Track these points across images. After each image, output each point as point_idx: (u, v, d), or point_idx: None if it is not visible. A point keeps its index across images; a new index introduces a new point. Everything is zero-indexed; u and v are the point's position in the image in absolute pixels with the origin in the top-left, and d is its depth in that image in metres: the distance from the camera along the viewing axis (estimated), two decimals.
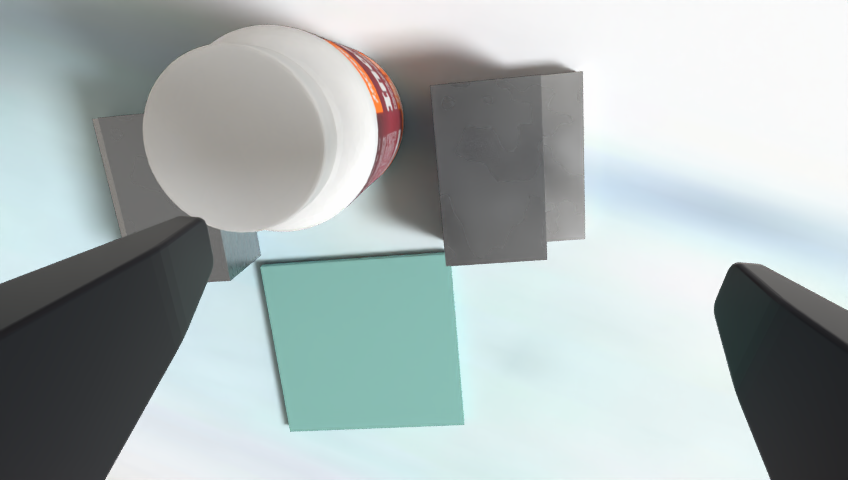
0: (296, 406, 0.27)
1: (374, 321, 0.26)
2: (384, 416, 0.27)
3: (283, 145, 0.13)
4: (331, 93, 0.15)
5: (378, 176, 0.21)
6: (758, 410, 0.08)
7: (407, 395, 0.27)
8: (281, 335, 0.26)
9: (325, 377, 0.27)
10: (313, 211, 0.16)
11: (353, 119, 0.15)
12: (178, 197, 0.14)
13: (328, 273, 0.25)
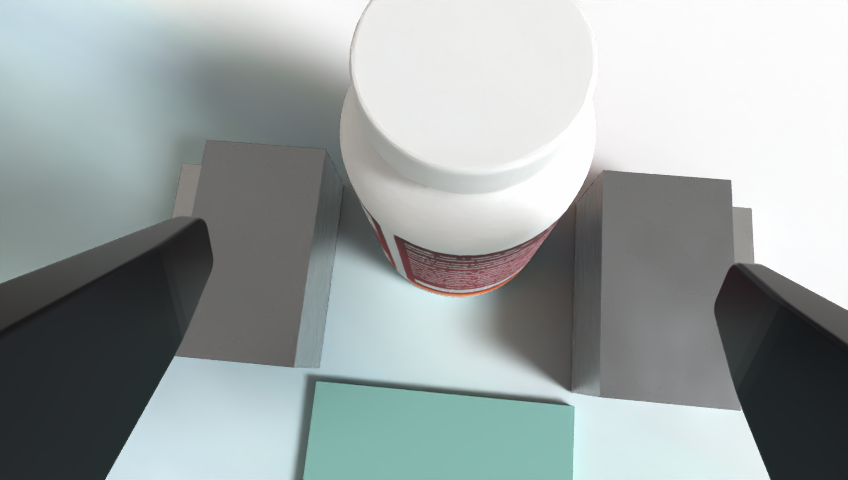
0: None
1: None
2: None
3: (541, 68, 0.10)
4: None
5: (522, 265, 0.17)
6: (758, 410, 0.08)
7: None
8: None
9: None
10: (509, 213, 0.12)
11: None
12: (377, 107, 0.10)
13: (406, 406, 0.19)
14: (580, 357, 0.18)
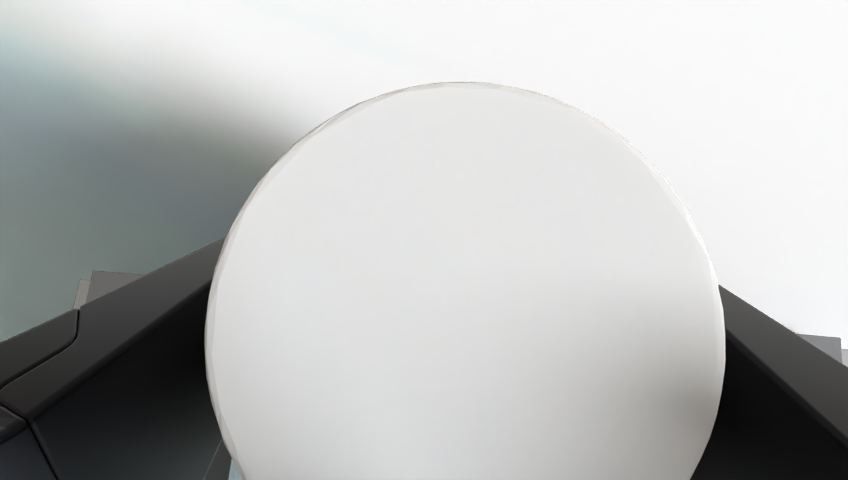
0: None
1: None
2: None
3: (606, 349, 0.05)
4: None
5: None
6: None
7: None
8: None
9: None
10: None
11: None
12: (253, 445, 0.05)
13: None
14: None
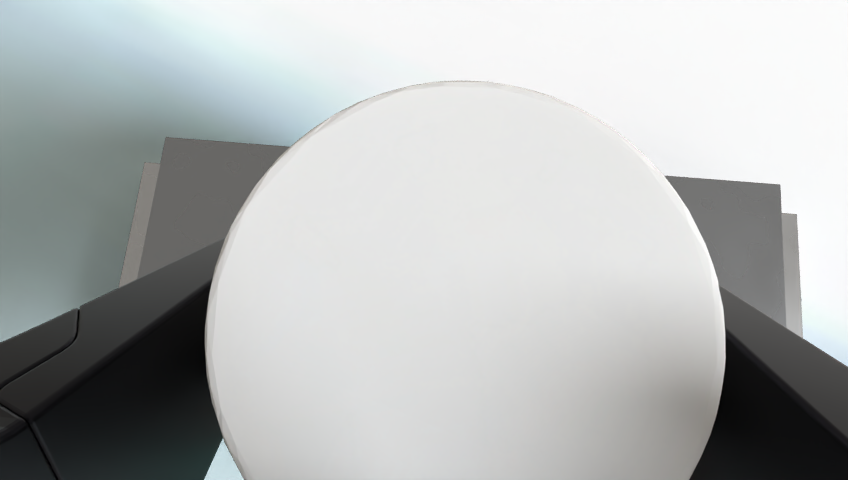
0: None
1: None
2: None
3: (606, 348, 0.05)
4: None
5: None
6: None
7: None
8: None
9: None
10: None
11: None
12: (254, 444, 0.05)
13: None
14: None
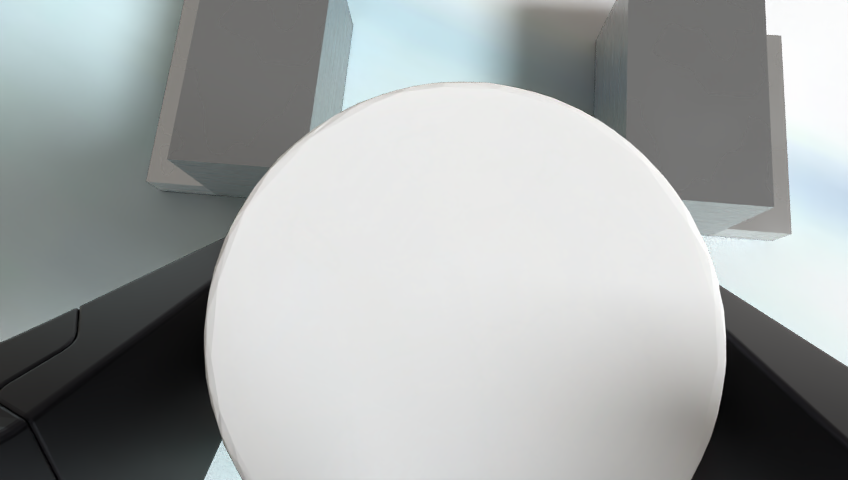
0: None
1: None
2: None
3: (606, 349, 0.05)
4: None
5: None
6: None
7: None
8: None
9: None
10: None
11: None
12: (253, 446, 0.04)
13: None
14: None
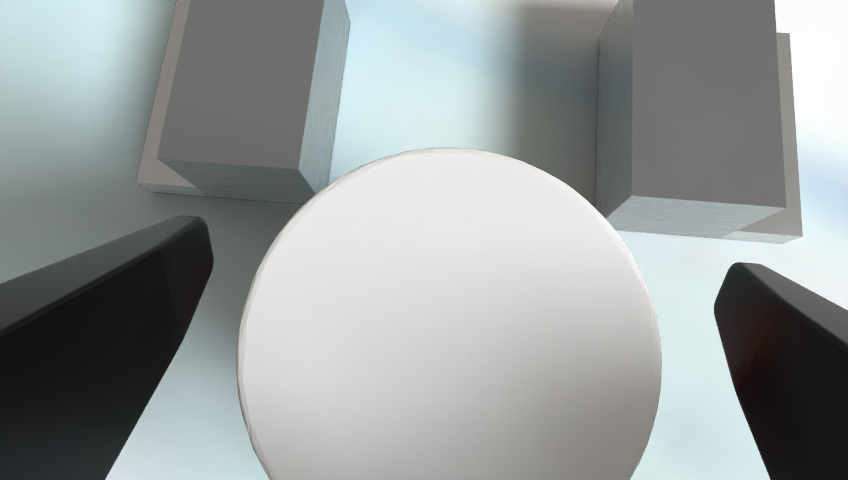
0: None
1: None
2: None
3: (565, 372, 0.06)
4: None
5: None
6: (758, 410, 0.08)
7: None
8: None
9: None
10: None
11: None
12: (278, 451, 0.06)
13: None
14: (606, 183, 0.17)
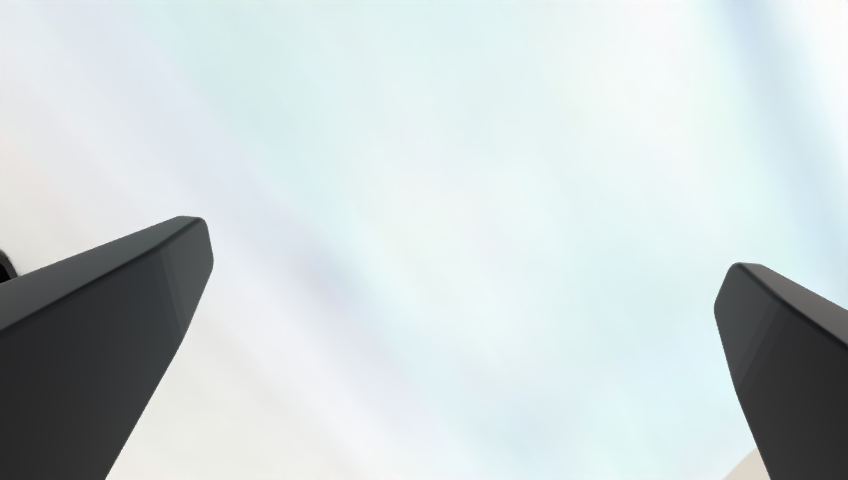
0: None
1: None
2: None
3: None
4: None
5: None
6: (758, 410, 0.08)
7: None
8: None
9: None
10: None
11: None
12: None
13: None
14: None
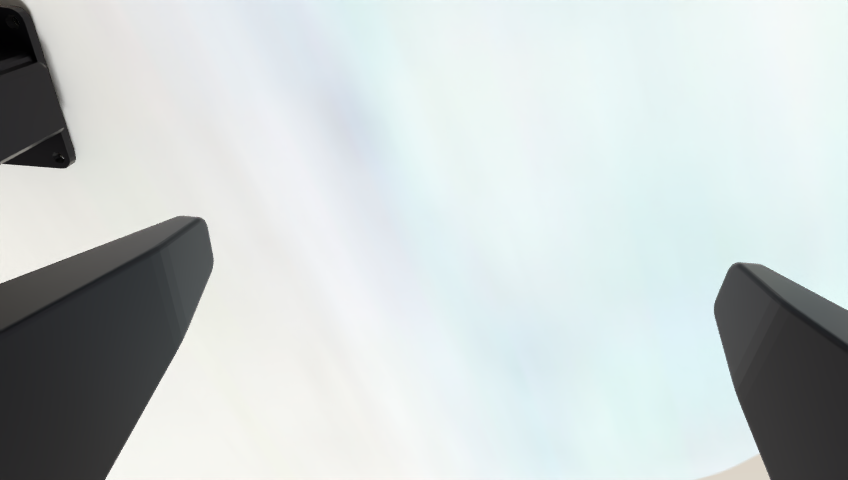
0: None
1: None
2: None
3: None
4: None
5: None
6: (758, 410, 0.08)
7: None
8: None
9: None
10: None
11: None
12: None
13: None
14: None
